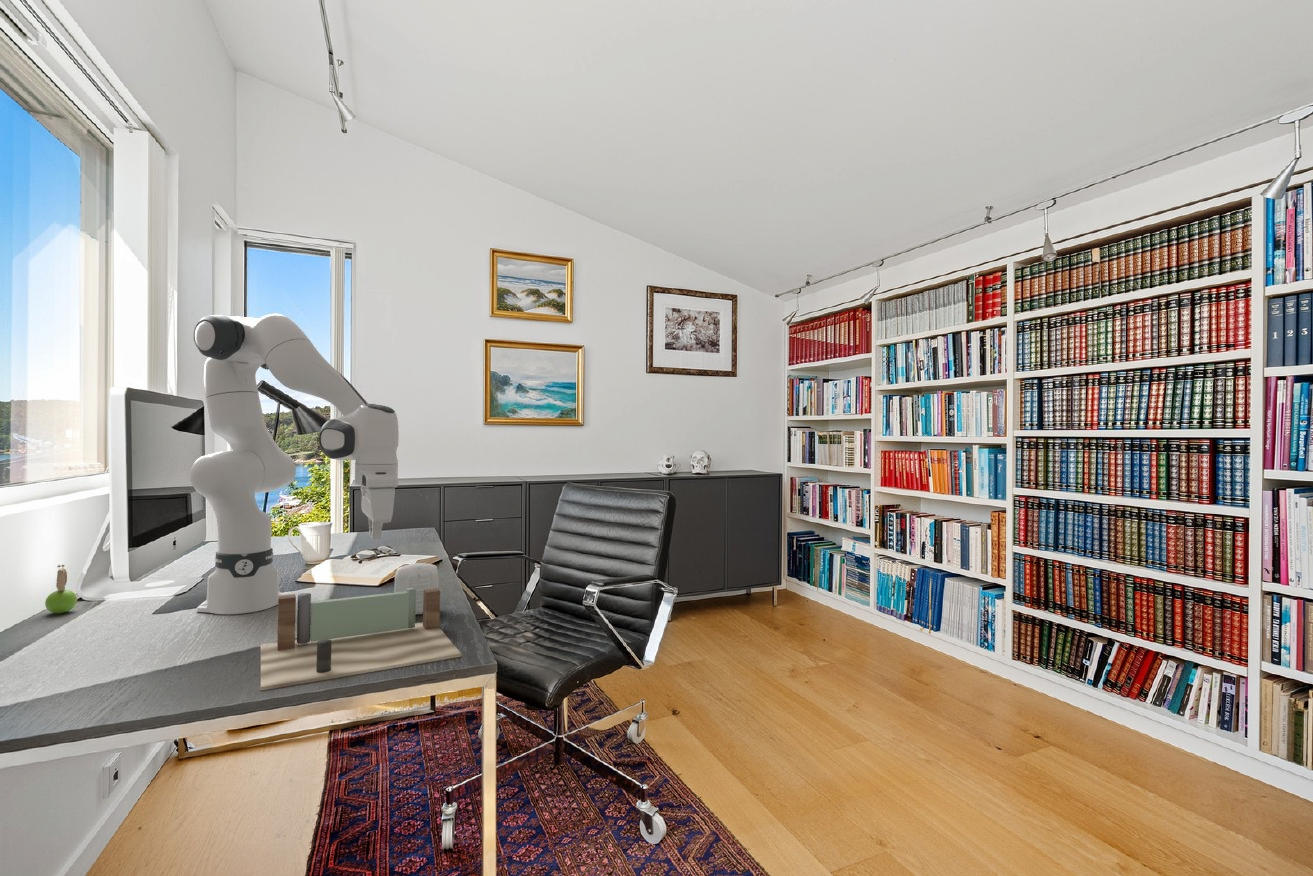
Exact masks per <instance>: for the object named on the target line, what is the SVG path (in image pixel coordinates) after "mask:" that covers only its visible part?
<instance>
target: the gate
mask: <svg viewBox="0 0 1313 876" xmlns="http://www.w3.org/2000/svg"><path fill="white" fill-rule="evenodd" d="M415 608H416V588H408V589H406V591H404V592H395V593H394V592H387V593H378V594H368V595H361V596H351V597H350V596H349V597H343V598H342V597H341V598H331V599H324V600H313V601H312V593H309V592H306V593H305V592H303V593H300V594H297V610H296V611H297V614H296V615H297V617H296V620H297V621H296V640H297V643H298V644H304V643H308V642H310V640H311V642H314V641H320V640H328V639H336V638H343V637H350V636H357V635H364V634H371V633H379V632H386V631H393V630H400V629H407V628H414V627H415V623H416V614H415Z"/></svg>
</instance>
